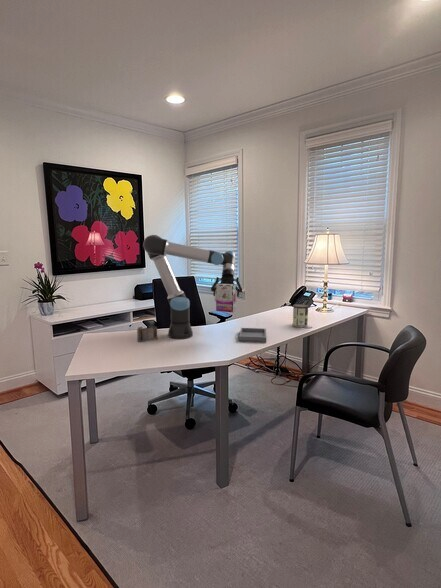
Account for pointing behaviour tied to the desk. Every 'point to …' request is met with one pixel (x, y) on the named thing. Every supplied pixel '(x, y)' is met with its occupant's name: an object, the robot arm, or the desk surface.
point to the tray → (252, 335)
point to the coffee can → (300, 315)
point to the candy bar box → (225, 297)
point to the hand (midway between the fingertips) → (225, 300)
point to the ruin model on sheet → (146, 334)
